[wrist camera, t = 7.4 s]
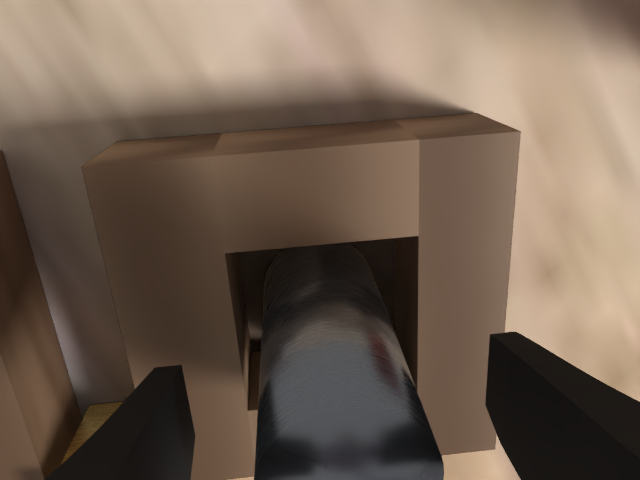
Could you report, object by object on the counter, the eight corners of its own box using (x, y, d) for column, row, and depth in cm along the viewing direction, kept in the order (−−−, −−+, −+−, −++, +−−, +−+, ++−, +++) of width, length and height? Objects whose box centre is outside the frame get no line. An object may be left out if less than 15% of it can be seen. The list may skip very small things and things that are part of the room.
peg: (378, 237, 17) (457, 407, 9) (368, 334, 18) (429, 548, 11) (265, 234, 16) (255, 407, 9) (263, 332, 18) (252, 553, 10)
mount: (476, 113, 16) (520, 131, 13) (463, 388, 19) (495, 449, 17) (-46, 154, 15) (-119, 183, 12) (47, 432, 19) (7, 504, 16)
